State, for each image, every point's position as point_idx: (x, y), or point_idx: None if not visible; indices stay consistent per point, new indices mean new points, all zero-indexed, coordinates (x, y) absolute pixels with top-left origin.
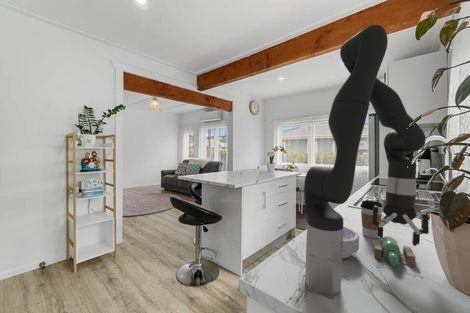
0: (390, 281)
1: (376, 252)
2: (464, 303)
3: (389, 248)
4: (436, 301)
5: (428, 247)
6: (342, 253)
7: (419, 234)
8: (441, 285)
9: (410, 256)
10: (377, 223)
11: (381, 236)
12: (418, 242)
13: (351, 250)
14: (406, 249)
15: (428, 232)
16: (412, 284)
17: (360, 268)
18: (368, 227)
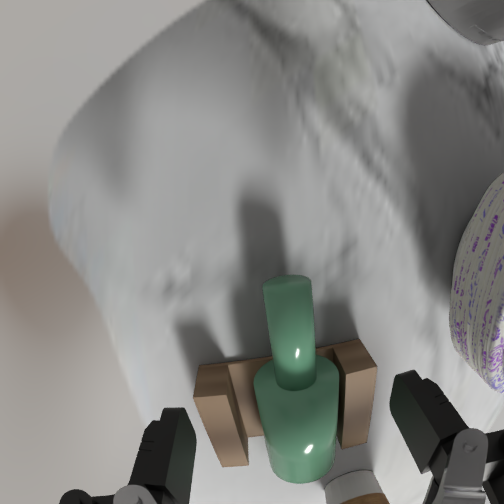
0: (290, 135)
1: (362, 356)
2: (50, 176)
3: (315, 392)
4: (122, 105)
5: None
6: (502, 176)
7: (129, 489)
8: (104, 265)
9: (214, 394)
10: (491, 449)
11: (413, 381)
12: (149, 433)
13: (490, 209)
14: (235, 443)
15: (62, 499)
16: (200, 179)
17: (413, 175)
18: (370, 498)
